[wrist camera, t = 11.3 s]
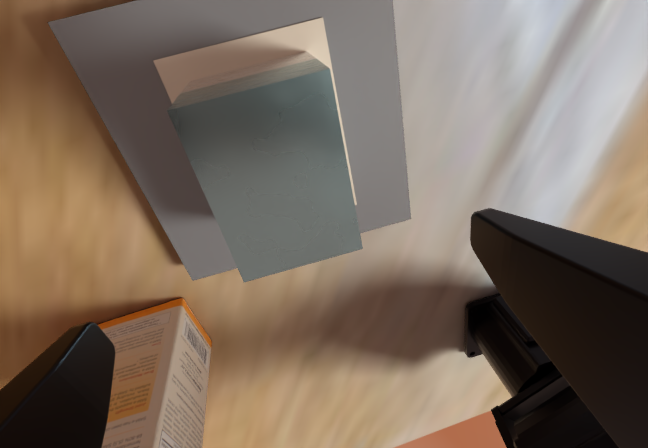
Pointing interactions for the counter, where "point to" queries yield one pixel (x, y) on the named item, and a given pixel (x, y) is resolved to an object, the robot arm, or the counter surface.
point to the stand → (225, 55)
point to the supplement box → (158, 378)
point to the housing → (271, 162)
